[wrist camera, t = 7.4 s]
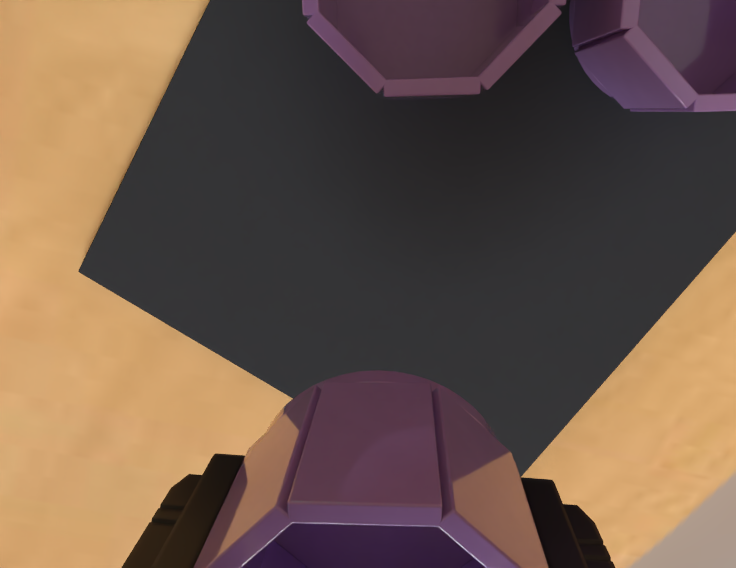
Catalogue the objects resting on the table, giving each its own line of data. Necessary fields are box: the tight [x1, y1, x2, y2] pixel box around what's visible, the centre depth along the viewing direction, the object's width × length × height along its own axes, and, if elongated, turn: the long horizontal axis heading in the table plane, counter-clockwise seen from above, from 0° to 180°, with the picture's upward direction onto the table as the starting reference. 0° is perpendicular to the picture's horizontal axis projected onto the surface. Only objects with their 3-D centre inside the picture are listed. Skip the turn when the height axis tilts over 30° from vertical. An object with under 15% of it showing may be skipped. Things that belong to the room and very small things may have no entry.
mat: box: [79, 0, 736, 477], centre depth 17 cm, size 28×18×1 cm, turn 147°
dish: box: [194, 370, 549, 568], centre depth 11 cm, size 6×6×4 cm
